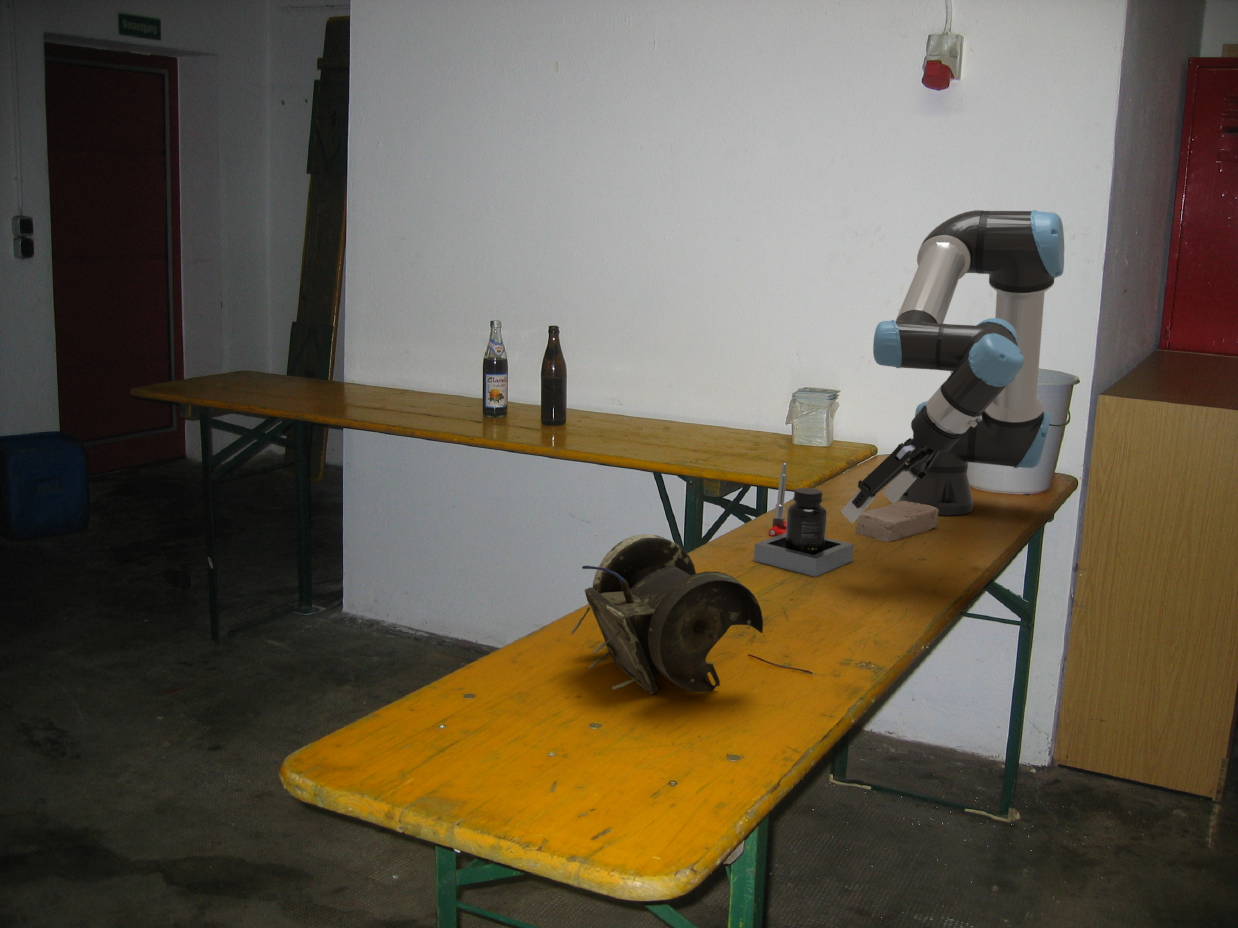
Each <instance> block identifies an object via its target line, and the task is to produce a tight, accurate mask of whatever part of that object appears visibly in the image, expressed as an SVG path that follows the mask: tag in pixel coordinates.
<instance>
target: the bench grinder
mask: <svg viewBox="0 0 1238 928" xmlns="http://www.w3.org/2000/svg"><path fill="white" fill-rule="evenodd" d="M588 569H589V570H596V572H595V575H594V578H593V581H592V586H591V587H588V588H585V589H584V593H585V596H586V601H587V603H588V604H589V606H588V608H587V609H586V611H585V613H584V614H583V616H582V617H581V618H580V619H579V620H578V621H577V623H576V624H575V626H574V627H573V629H572V630H571V631H570V633H571V635H574V634H575V632H576V631H577V629H578V628H579V626H580V625H581V624H582V621H583V620H584V618H585V617H586V615H587V614H588V612H589V611H590V609H591V611H592V613H593V615H594V618H595V619H596V622H597V624H598V628H599V630H600V632H601V634H602V637H603V640H604V642H603V643H602V644H600V645H599V646H598V647H597V648H596V649H595V648H594V650H593V651H592V653H593V654H594V655H595V654H596V653H598V652H599V651H600V650H602V649H603V648H604V647H606V649H607V651H608V652H606V653H605V654H604V655H602V656H601V657H599V658H598V659H596V660H595V661H594V662H593V663H592V664H590V665H589V666H588V668H589V670H592V669H593V668H594V667H596V665H598V664H600V662H601V661H603V659H604V658H606V657H607V656H609V655H610V657H611V659H612V661H613V663H614V664H615V665H616V666H617V667H618V668H620V669H621V670H622V671H623V672H624V673H626V674H627V675H628V676H629V677H630V678H631V679H630V680H627V681H625V682H621V683H619V684H617V685H614V686H611V689H612V690H613V691H615V690H616V689H617V690H618V689H620V688H624V687H625V686H628V685H630V684H632V683H633V682H635V683H637V684H638V685H640V687H642V688H643V689H644V690H645V691H646V692H647V693H648V694H650V695H655V693H656V692H657V691H658V690H659V688H658V685H657V683H656V678H657V677H658V676H659V675H660V674H661V676H663V677H664V678H666V679H667V680H669V681H670V682H672V683H673V684H674V685H676V686H678V687H679V688H681V689H683V690H686V691H688V692H694V693H708V692H709V693H710V692H714V691H715V689H716V688H717V687H719V686H721V682H720V681H721V679H719V676H718V673H717V671H716V668H715V666H714V664H713V663H708V662H707V660H706V659H707V657H708V655H709V653H710V651H712V649H713V648H714V646H715V645H716V644H717V643H718V642H719V641H720V639H722V637H723V636H724V635H725V634H726V633H727V632H728V631H729V629H730V628H731V627H732V626H750V627H752V628H754V629H755V630H757V632H759V633H760V634H763V633H764V619H763V612H762V609H761V606H760V602H759V601H758V599H757V598H756V596H755V595H754V594H753V592H752V591H751V590H750V589H749V588H748V587H746V585H744V584H742V583H741V582H740V581H739V580H738V579H736V578H735V576H734V577H733V576H732V575H730V574H727V573H725V572H724V573H723V572H720V571H701V572H696V568H695V564H694V562H693V560H692V559H691V557H690V554H689V553H687V552H686V550H684V549H683V548H682V547H681V545H679V544H678V543H677V542H675V541H672V540H671V539H670V540H669V539H667V538H665V537H663V536H660V535H656V534H647V533H646V534H645V533H644V534H636V535H635V534H634V535H633V536H630V537H628V538H625V539H623V540H621V541H619V543H617V544H616V545H614V546H613V547H612V548H611V549H610V550H609V551H608V552H607V553H606V554H605V556H604V557H603V559H602V560H601V562H600V564H599V565H598V566H593V565H583V566H582V570H588ZM708 674H711V677H712V679H713V681H714V684H712V681H711V680H710V678H709V677H710V676H709V675H708Z"/></svg>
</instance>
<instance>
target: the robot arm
mask: <svg viewBox="0 0 1238 928" xmlns="http://www.w3.org/2000/svg"><path fill="white" fill-rule="evenodd" d="M916 262H917V269H916V271H915V273H914V276H913V279H912V281H911V283H910V286H909V287H908V289H907V290H908V291H906V292H907V293H906V295H905V297H904V299H903V302H902V304H901V307H900V310H899V312H898V315H897V317H896V319H891V320H883V321H879V323H878V324H877V325H876V328H875V331H874V336H873V346H872V349H873V352H872V353H873V359H874V362H875V363H876V364H877V365H879V366H885V367H893V368H896V369H914V370H915V369H917V370H932V371H933V370H934V371H943V372H951V374H950V375H949V376H948V377H947V379H946V380H945V381H944V382H943V383H942V384H941V385H940V386H939V388H938V389H937V390H936V391H935V392H934V393H933V394H932V395H931V397H930V398H929V399H928V400H926V401H924V402H921V403H919V404H918V405H917V406H916V409H915V414H914V418H913V419H912V420H911V422H910V423H911V424H910V427H911V430H912V437H910V438H908V439H906V440H905V441H904V442H901V443H899V444H898V445H897V447H896V448H894V449H893V451H892V452H891V453H890V454H888V456H887V457H886V458H885V459H884V460H883V461H882V462H881V463H880V464H878V465H877V467H875V468H874V469H873V470H872V471H871V472H870V473H869V474H868V475H866V477H865V478H864V479H863V480H861V479H859V480H858V482H857V488H858V491H856V492H855V494H854V495H853V496H852V497H851V499H850V500H849V501H848V502H847V503H846V504H845V505H844V506H843V508H842V509H841V510H840V512H841V513H842V515H844V517H845V518H846V519H847V520H848V521H849V522H850V523H851V524H854V523H855V522H857V518H858V517H859V516H860V515H861V514H862V513H863V512H864V511H866V509H867V508H868V507H869V506H870V505H871V504H872V503H873V501H874V500H875V498H877V494H878V493H880V491H882V490H883V489H884V488H885V489H884V490H883V491H882V494H883V495H884V496H885V497H886V498H887V499H888V500H889V502H891V504H894V503H896V502H900V501H907V502H913V503H920V504H925V505H930V506H933V507H936V508H937V509H938V516H961V515H966V514H969V513H971V512H973V507H974V498H973V494H972V490H971V486H970V481H969V478H968V467H969V463H971V464H972V463H974V464H982V465H983V464H984V465H994V466H1001V467H1012V468H1014V469H1018V468H1023V469H1032V468H1033V469H1034V468H1035V467H1037V466H1038V465H1039V464H1040V462H1041V459H1042V455H1043V452H1044V448H1045V444H1046V439H1047V434H1048V430H1049V427H1050V422H1051V414H1050V413H1048V412H1046V411H1044V403H1043V402H1042V401H1041V400H1040V399H1039V398H1038V397H1037V395H1038V394H1037V393H1038V379H1039V368H1040V367H1039V366H1040V365H1039V364H1040V355H1041V342H1042V340H1041V339H1042V330H1043V329H1042V328H1043V318H1044V315H1043V314H1044V304H1045V292H1047V291H1048V290H1049V289H1050V288H1052V287H1053V286H1054V284H1055V279H1056V278H1059V277H1061V276H1062V275H1063V273H1064V269H1065V234H1064V225H1063V221H1062V218H1061V217H1060V215H1059V214H1057V213H1056V212H1052V211H1051V212H1050V211H1039V210H1036V209H1034V210H976V209H975V210H969V211H966V212H962V213H960V214H956V215H954V216H952V217H950V218H948V219H946V220H945V221H943V222H942V223H940V224H939V225H938V226H936V227H935V228H934V229H933V230H931V232H930V233H928V235H927V236H926V237H925V238H924V240H923V241H922V242H921V245H920V247H919V248H918V251H917V258H916ZM966 274H979V275H981V274H982V275H989V276H988V285H989V287H991V288H992V289H993V290H994V291H995V292H996V297H995V298H996V299H995V313H994V316H995V317H992V318H990V317H989V318H987V319H984V320H982V321H980V322H979V323H977V325H975V324H974V325H972V324H969V325H968V324H951V323H950V324H949V323H944V321H945V318H946V316H947V313H948V311H949V308H950V305H951V302H952V301H953V300H952V299H953V297H954V293H955V291H956V288H957V285H958V283H959V280H960V279H962V278H963V277H964V276H965V275H966ZM898 500H899V501H898Z"/></svg>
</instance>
